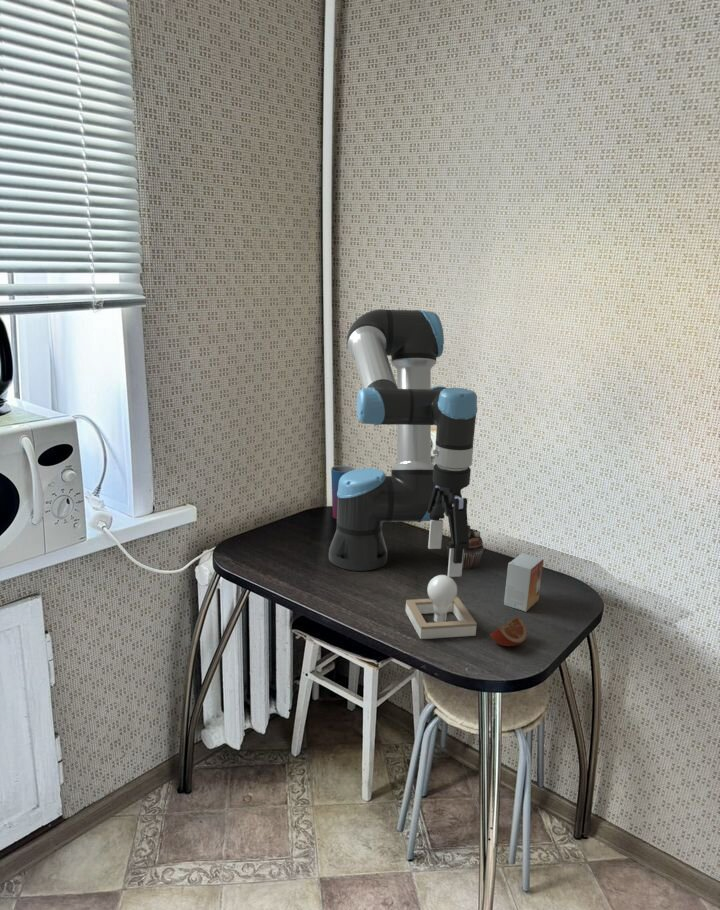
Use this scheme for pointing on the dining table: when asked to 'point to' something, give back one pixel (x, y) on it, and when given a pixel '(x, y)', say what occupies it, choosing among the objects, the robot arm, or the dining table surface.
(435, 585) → the lightbulb
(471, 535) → the cupcake
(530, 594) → the small box
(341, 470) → the cup
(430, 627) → the square frame
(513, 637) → the fruit slice
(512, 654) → the dining table surface
